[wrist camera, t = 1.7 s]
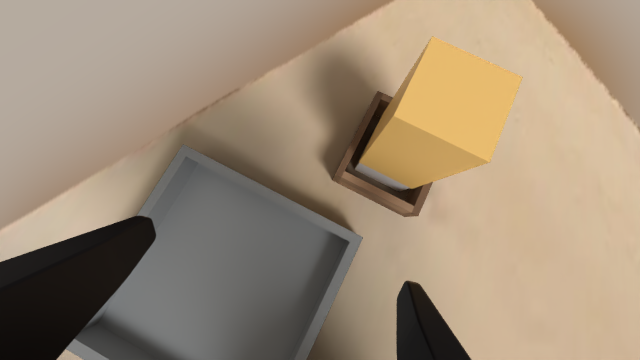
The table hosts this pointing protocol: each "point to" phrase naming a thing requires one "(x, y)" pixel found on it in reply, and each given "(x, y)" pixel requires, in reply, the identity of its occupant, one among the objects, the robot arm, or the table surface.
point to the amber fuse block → (440, 119)
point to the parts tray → (222, 273)
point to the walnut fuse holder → (369, 191)
